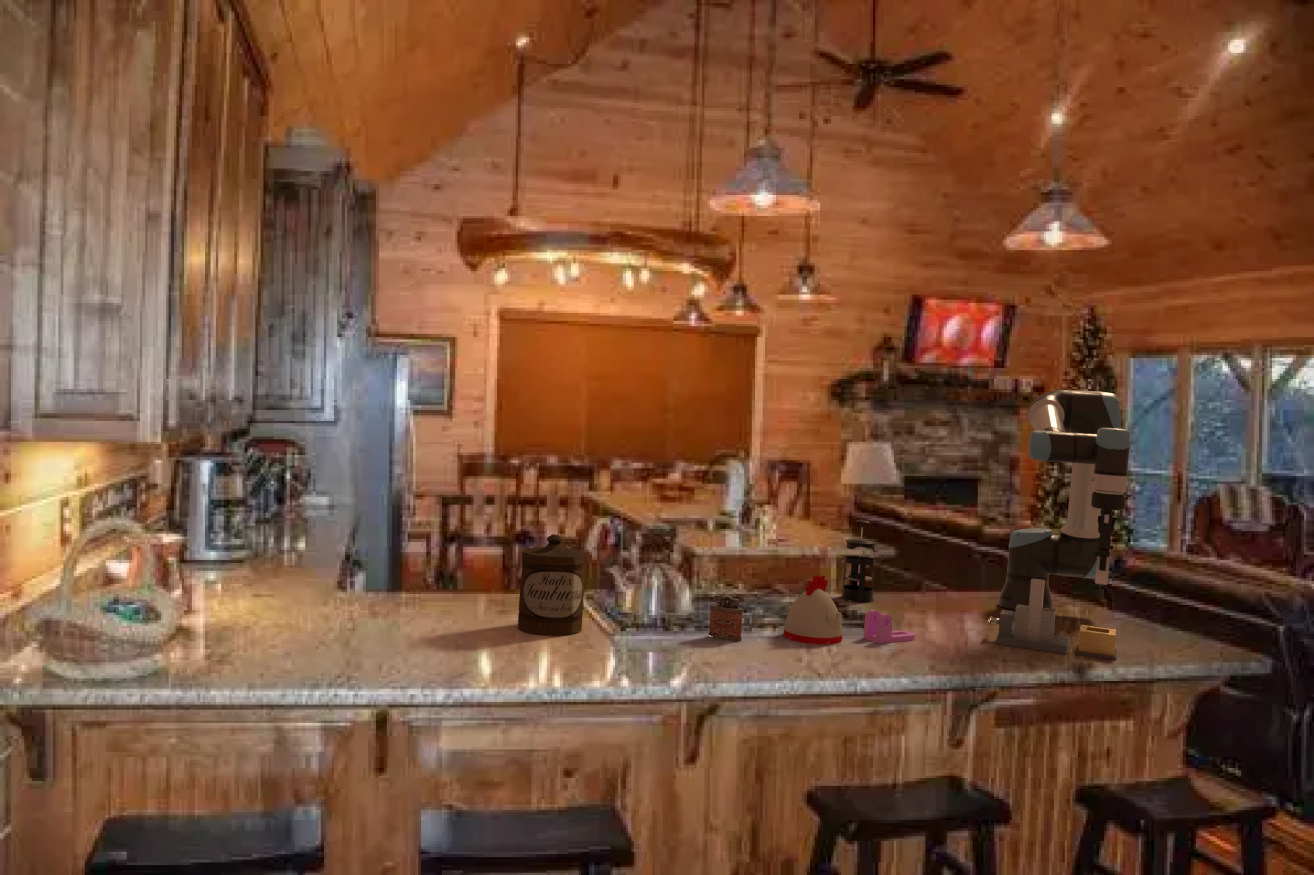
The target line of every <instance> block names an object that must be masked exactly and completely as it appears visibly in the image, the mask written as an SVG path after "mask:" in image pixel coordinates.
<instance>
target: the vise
mask: <svg viewBox="0 0 1314 875" xmlns="http://www.w3.org/2000/svg"><path fill="white" fill-rule="evenodd" d="M1044 583H1045V580H1040V579H1031V586H1030V599H1029V606H1027V605H1019V604H1017V606H1016V609H1015V610H1005V609H1002V610H1001V611H1000V614H999V618H996V617H993V616H989V618H988V619H987V621H986V624H987V625H991V624H992V625H993V624H994V625H998V634H997V636H996V645H999V646H1000V645H1001V646H1007V647H1014V648H1021V649H1028V650H1034V649H1036V651H1042V652H1050V653H1056V654H1063V655H1067V652H1068V648H1069V644H1070V643H1069V642H1070V636H1066V635H1057V634H1055V621H1056V612H1057V611H1056V608H1053V609H1050V608H1043V596H1044Z"/></svg>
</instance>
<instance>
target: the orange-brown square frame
mask: <svg viewBox="0 0 1314 875" xmlns="http://www.w3.org/2000/svg"><path fill="white" fill-rule="evenodd" d="M1116 631H1117V629H1115V628H1107V627H1100V626H1092V625H1085V624H1080V627H1079V631H1078V634H1079V635H1078V644H1079V645H1078V651H1080V652H1088V653H1095V654H1102V655H1109V656H1114V651H1115V649H1116V637H1117V636H1116V635H1117V633H1116Z"/></svg>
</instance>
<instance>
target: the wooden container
mask: <svg viewBox="0 0 1314 875" xmlns="http://www.w3.org/2000/svg"><path fill="white" fill-rule="evenodd" d="M546 541H547V542H548V543H547V544H546V546H533V547H527V548H524V549H522V553H521V554H522V555H521V574H520V576H521V577H520V587H519V599H518V616H517V617H518V618H517V628H518V629H519V630H520V631H522V632H524V633H527V634H531V635H538V636H539V635H540V636H552V637H553V636H554V637H557V636H558V637H559V636H560V637H562V636H570V635H573V634H574V635H575V634H577V633H580V632H581V631H582V629H583V614H584V599H585V597H584V595H585V572H586V571H585V568H586V567H585V564H586V563H585V562H586V552H585V551H583V550H580V549H577V548H571V547H570V548H569V547H563V545H562V541H563V539H562V536H560V535H559V534H555V533H554V534H553V533H552V534H551V535H549V536H547V538H546Z"/></svg>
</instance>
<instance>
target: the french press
mask: <svg viewBox="0 0 1314 875" xmlns="http://www.w3.org/2000/svg"><path fill="white" fill-rule="evenodd" d="M855 522H856V523H860V530H861V531H860V539H859V538H853V539H845V542H846V549H849V550H854V549H856V548H859V555H845V556H844V557H843V558H844V559H843V572H842V586H841V594H840V598H841V599H842V600H844V599H845V600H844V601H848V600H851V601H850V602H853V601H854V603H871V602H874V588H875V573H876V560H877V559H875V558H873V557H868V556H862V548H866V549H869V550H871V551H875V550H876V545H877V544H878V543H877V542H876V541H874V540H873V541H872V540H868V539H863V530H864V527H865V524H871V522H870V521H868V520H863V519H858V520H855ZM847 564H850V566H851V567H850V574H846V566H847ZM867 566H872V577H871V576H867V575H866V573H867ZM846 580H847V581H850V582H849V584H846V585H845V581H846ZM866 582H867V583H868V582H869V583H870V582H871V587H869V586H866Z"/></svg>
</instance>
